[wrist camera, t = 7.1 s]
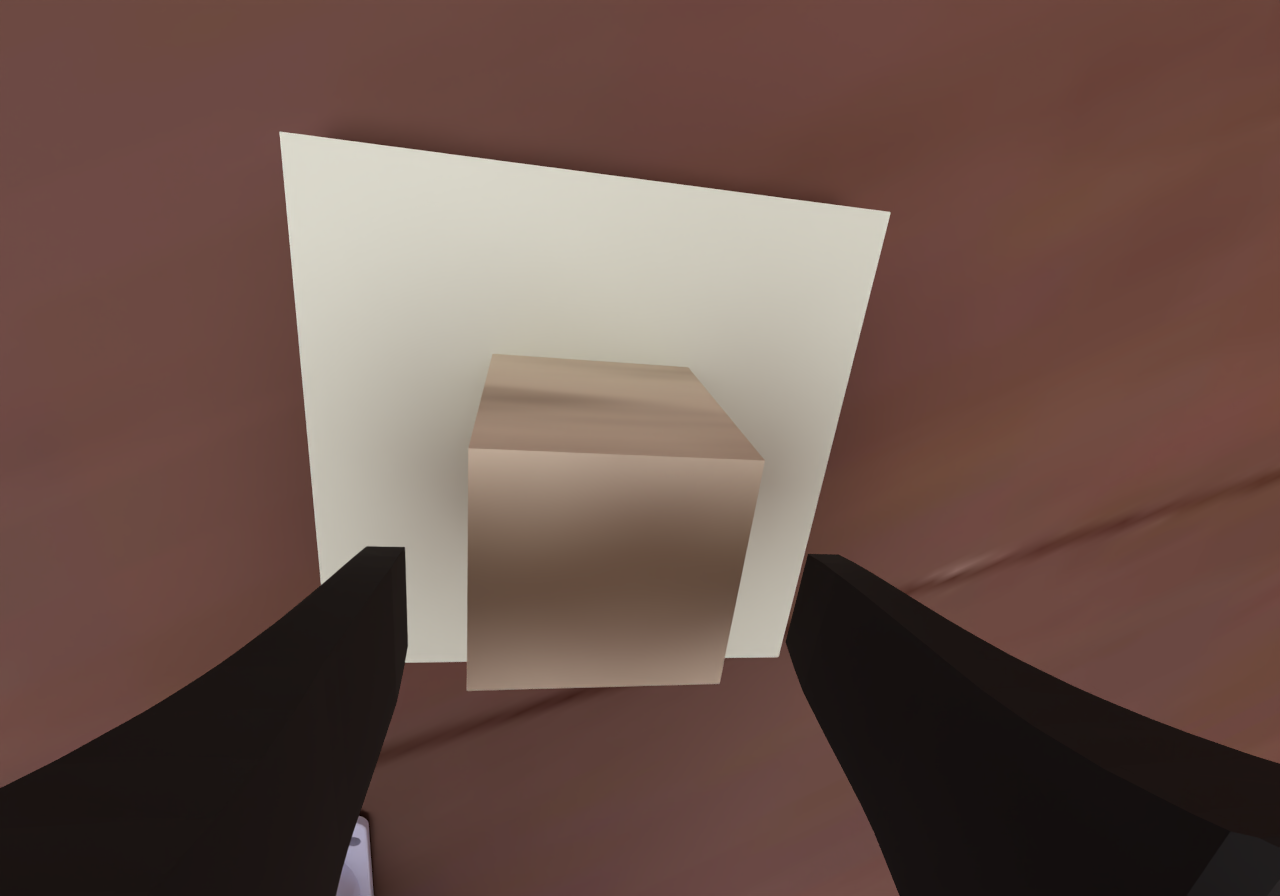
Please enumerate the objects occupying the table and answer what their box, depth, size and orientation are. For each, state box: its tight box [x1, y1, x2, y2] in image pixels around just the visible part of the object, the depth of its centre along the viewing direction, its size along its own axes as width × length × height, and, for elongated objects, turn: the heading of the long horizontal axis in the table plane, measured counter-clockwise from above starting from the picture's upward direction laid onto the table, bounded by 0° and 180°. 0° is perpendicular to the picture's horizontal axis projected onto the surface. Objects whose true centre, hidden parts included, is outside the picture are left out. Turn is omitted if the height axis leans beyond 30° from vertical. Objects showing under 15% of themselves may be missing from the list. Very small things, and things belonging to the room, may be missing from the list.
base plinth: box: [280, 132, 891, 663], centre depth 18 cm, size 14×14×3 cm
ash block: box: [467, 354, 765, 691], centre depth 14 cm, size 5×5×6 cm
